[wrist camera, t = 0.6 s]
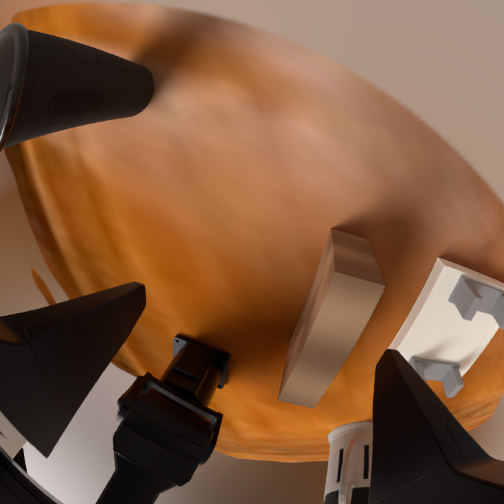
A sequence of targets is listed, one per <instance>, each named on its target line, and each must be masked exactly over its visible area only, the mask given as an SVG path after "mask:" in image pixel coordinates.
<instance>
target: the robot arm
mask: <svg viewBox="0 0 504 504" xmlns="http://www.w3.org/2000/svg"><path fill="white" fill-rule="evenodd" d="M145 306H146V290H145V286H144V284H141V283H139V282H131V283H127V284H124V285H120V286H117V287H113V288H110V289H106V290H103V291H99V292H96V293H92V294H89V295H85V296H82V297H78V298H75V299H71V300H68V301H64V302H61V303H58V304H57V305H56V304H54V305H50V306H47V307H43V308H40V309H36V310H31V311H27V312H22V313H17V314H12V315H7V316H2V317H0V504H63V503H62V502H60V501H59V500H58V499H56V498H55V497H54V496H53V495H51V494H50V493H49V492H48V491H46V490H45V489H44V488H43V487H42V486H40V485H39V484H38V483H37V482H36V481H35V480H34V479H33V478H31V477H30V476H29V475H28V474H27V469H26V464H25V458H24V452H23V448H22V446H23V445H24V444H25V442H26V441H28V442H29V443H30V444H31V445H32V446H33V447H34V448H35V449H36V450H38V451H39V452H40V453H41V454H42V455H43V456H45V457H46V458H47V457H48V456H49V455H50V453H51V452H52V450H53V448H54V447H55V445H56V443H57V442H58V440H59V439H60V437H61V435H62V434H63V432H64V431H65V429H66V428H67V426H68V424H69V423H70V421H71V420H72V418H73V416H74V415H75V413H76V412H77V410H78V409H79V407H80V406H81V404H82V403H83V401H84V399H85V398H86V397H87V395H88V394H89V392H90V391H91V389H92V388H93V386H94V385H95V383H96V382H97V380H98V379H99V377H100V376H101V375H102V373H103V372H104V370H105V369H106V367H107V366H108V365H109V363H110V362H111V360H112V359H113V358H114V356H115V355H116V353H117V352H118V351H119V349H120V348H121V346H122V345H123V344H124V342H125V341H126V339H127V338H128V336H129V335H130V333H131V331H132V329H133V328H134V326H135V324H136V322H137V321H138V319H139V317H140V316H141V314H142V312H143V310H144V309H145ZM229 361H230V355H229V354H228V353H225V352H222V351H219V350H216V349H214V348H211V347H208V346H205V345H202V344H199V343H197V342H194V341H191V340H189V339H186V338H183V337H181V336H178V335H176V336H175V337H174V338H173V360H172V361H171V363H170V364H169V366H168V368H167V369H166V371H165V372H164V374H163V375H162V377H161V379H160V380H158V379H157V378H155V377H154V376H152V374H151V373H149V372H147V373H146V374H145V375H144V376H138V377H137V379H136V380H135V382H134V383H133V384H132V386H131V387H130V388H129V389H128V390H127V391H126V392H125V393H124V394H123V395H122V396H121V397H120V398H119V399H118V401H117V404H118V407H119V409H118V414H117V417H116V419H117V420H118V421H120V422H121V423H120V425H119V427H118V428H117V430H116V432H115V434H114V435H113V450H114V459H115V468H116V469H115V472H114V473H113V475H112V477H111V479H110V480H109V482H108V483H107V485H106V487H105V489H104V490H103V492H102V494H101V495H100V497H99V499H98V500H97V502H96V504H154V502H155V501H156V499H157V497H158V495H159V494H160V493H162V492H164V491H166V490H169V489H170V488H173V487H175V486H182V485H184V484H186V483H187V482H189V481H190V480H191V478H192V476H193V474H194V472H195V470H196V468H197V467H198V465H203V464H204V463H205V462H206V461H207V460H208V458H209V457H210V455H211V454H212V452H213V450H214V448H215V445H216V442H217V438H218V434H219V430H220V426H221V422H222V418H223V414H221V413H219V412H216V411H214V410H212V409H210V408H208V406H209V404H210V401H211V399H212V397H213V395H214V392H215V390H216V388H219V389H222V388H223V387H224V384H225V379H226V375H227V370H228V366H229ZM368 504H504V461H501V460H497V459H494V458H492V457H491V456H489V455H488V454H487V453H486V452H485V451H484V450H483V449H482V448H481V446H480V445H479V444H478V443H477V442H476V441H475V440H474V439H473V438H472V437H471V436H470V435H469V434H468V432H467V431H466V430H465V429H464V428H463V427H462V426H461V425H460V423H459V422H458V421H457V420H456V419H455V417H454V416H453V415H452V414H451V412H449V410H448V409H447V407H446V406H445V405H444V404H443V403H442V401H441V400H440V399H439V398H438V397H437V395H436V394H435V393H434V392H433V391H432V389H431V388H430V387H429V386H428V385H427V383H426V382H425V381H424V380H423V379H422V378H421V376H420V375H419V374H418V373H417V372H416V371H415V369H414V368H413V367H412V366H411V365H410V364H409V363H408V361H407V360H406V359H405V358H404V357H403V356H402V355H401V353H400V352H399V351H398V350H395V349H386V350H385V352H384V354H383V355H382V357H381V358H380V360H379V362H378V363H377V365H376V369H375V382H374V395H373V442H372V465H371V480H370V491H369V500H368Z"/></svg>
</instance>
